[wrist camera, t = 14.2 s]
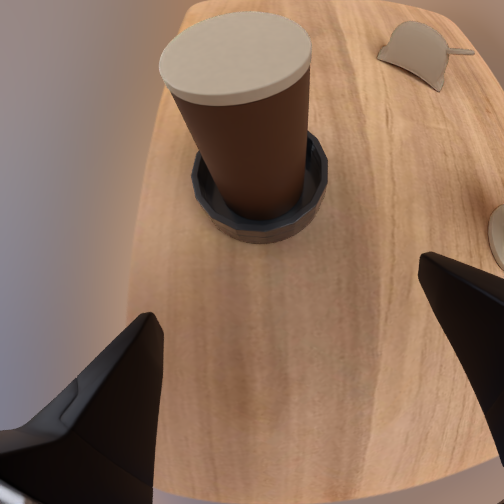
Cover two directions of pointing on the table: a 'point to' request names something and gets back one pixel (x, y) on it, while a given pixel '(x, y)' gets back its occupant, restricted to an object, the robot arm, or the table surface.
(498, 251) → the stand
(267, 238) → the bowl
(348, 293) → the table surface
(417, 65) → the beige curved piece
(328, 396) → the table surface
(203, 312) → the table surface
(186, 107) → the brown lidded canister
